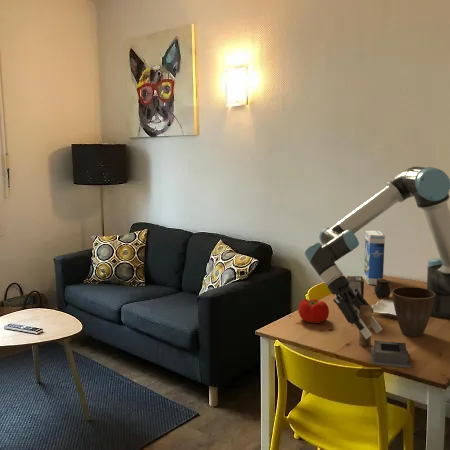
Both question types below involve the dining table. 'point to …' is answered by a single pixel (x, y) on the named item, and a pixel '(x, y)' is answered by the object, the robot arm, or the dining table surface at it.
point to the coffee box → (356, 283)
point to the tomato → (313, 310)
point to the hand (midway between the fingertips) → (374, 334)
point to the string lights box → (374, 256)
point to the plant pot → (413, 309)
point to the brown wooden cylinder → (366, 318)
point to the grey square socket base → (390, 354)
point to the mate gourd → (382, 288)
